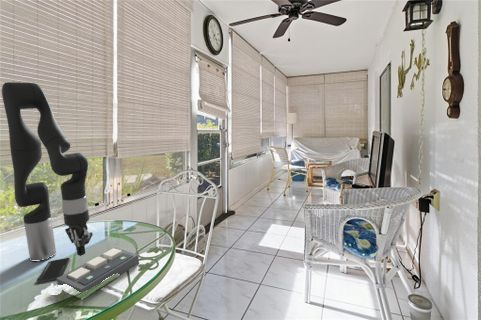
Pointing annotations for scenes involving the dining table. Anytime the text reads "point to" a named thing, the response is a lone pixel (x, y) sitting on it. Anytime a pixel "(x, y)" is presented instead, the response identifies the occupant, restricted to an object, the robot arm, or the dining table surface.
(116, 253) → the key
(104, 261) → the key
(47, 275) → the phone
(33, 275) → the dining table surface
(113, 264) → the keypad
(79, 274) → the key
